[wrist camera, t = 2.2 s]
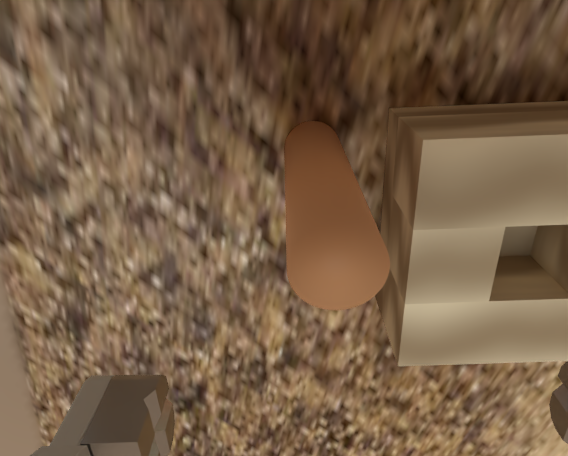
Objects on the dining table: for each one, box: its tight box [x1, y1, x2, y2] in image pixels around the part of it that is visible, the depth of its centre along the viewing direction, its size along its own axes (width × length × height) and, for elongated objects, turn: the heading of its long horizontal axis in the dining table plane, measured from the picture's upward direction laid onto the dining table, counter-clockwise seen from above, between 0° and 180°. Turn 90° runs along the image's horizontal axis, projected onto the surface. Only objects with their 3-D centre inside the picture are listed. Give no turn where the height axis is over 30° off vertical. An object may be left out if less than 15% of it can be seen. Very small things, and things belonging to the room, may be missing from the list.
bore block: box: [376, 101, 568, 366], centre depth 22 cm, size 12×12×6 cm
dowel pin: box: [284, 121, 390, 310], centre depth 18 cm, size 3×3×12 cm
